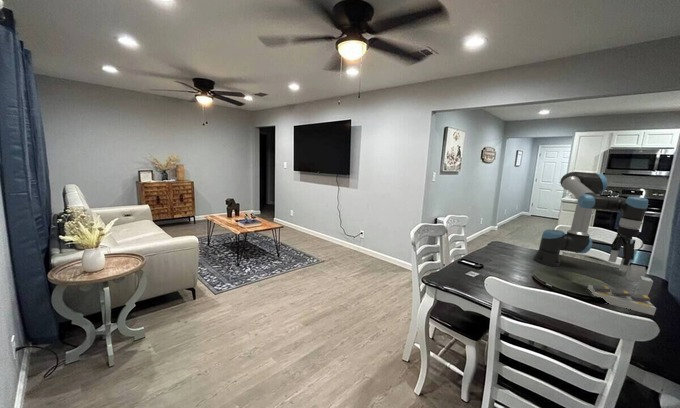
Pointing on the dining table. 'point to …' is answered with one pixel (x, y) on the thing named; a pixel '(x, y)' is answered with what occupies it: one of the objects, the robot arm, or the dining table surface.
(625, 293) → the rocker
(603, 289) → the rocker
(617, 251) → the robot arm
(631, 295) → the rocker
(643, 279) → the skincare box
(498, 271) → the dining table surface
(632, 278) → the grey box
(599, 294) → the switch unit
